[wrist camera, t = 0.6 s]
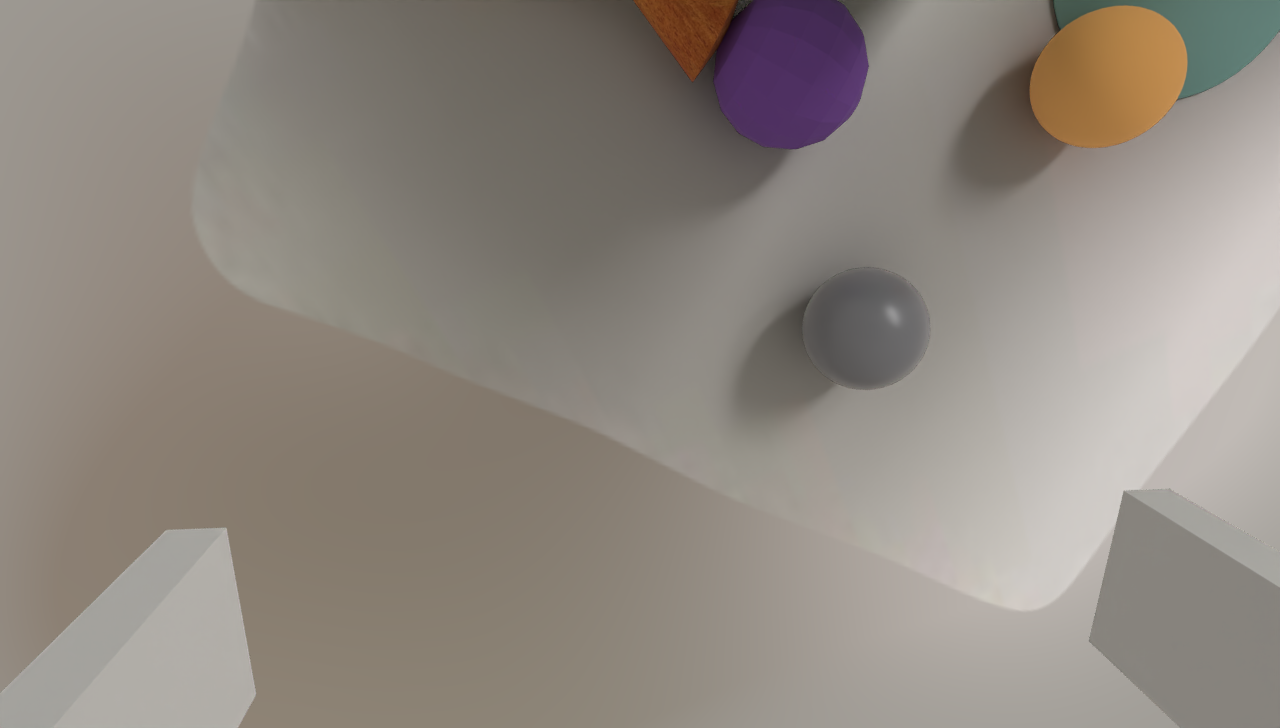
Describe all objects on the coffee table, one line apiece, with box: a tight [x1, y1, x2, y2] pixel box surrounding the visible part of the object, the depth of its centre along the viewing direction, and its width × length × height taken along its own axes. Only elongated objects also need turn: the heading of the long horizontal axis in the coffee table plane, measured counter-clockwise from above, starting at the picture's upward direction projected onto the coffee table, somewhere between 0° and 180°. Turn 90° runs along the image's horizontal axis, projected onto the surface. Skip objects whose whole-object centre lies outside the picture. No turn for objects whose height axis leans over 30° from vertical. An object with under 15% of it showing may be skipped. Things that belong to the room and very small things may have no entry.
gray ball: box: [802, 267, 930, 390], centre depth 32 cm, size 6×6×6 cm
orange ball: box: [1030, 5, 1188, 148], centre depth 30 cm, size 6×6×6 cm
